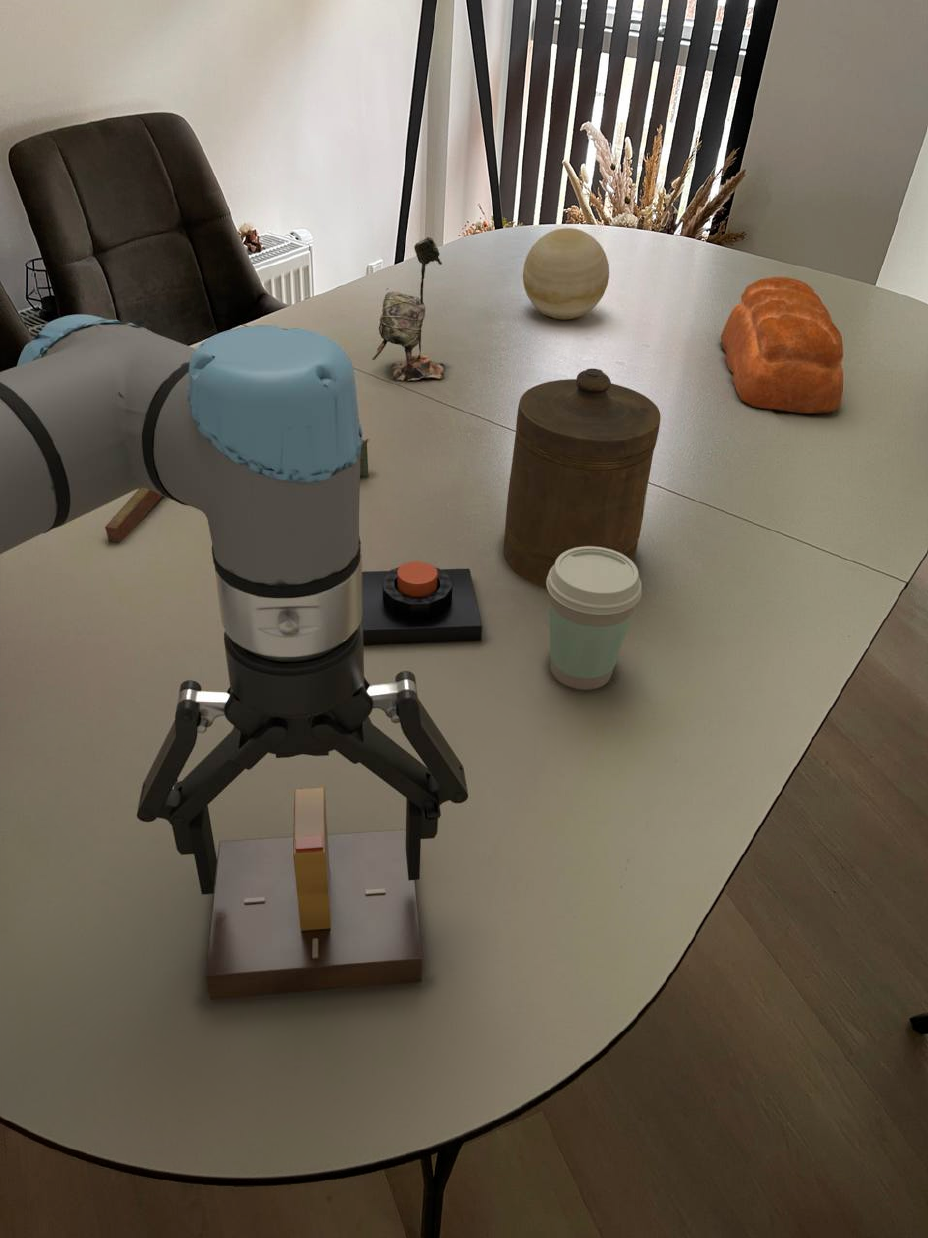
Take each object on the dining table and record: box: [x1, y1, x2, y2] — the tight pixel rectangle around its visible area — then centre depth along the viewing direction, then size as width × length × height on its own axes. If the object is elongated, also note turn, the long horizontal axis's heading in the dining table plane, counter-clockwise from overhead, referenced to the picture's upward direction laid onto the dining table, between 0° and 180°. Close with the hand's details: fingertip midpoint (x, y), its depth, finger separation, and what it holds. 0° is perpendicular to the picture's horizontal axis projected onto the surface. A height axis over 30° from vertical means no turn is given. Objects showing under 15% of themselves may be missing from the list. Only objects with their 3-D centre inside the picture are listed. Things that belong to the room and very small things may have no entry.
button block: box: [361, 566, 483, 646], centre depth 96 cm, size 12×10×4 cm
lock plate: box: [204, 828, 424, 1000], centre depth 67 cm, size 14×11×3 cm
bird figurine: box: [371, 236, 447, 381], centre depth 141 cm, size 8×11×20 cm
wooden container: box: [502, 368, 661, 589], centre depth 101 cm, size 15×15×22 cm
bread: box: [720, 276, 844, 414], centre depth 149 cm, size 16×31×13 cm, turn 174°
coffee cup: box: [546, 546, 643, 691], centre depth 88 cm, size 8×8×12 cm
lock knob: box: [293, 786, 331, 931], centre depth 63 cm, size 6×2×8 cm, turn 7°
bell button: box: [397, 560, 438, 597], centre depth 95 cm, size 4×4×2 cm
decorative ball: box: [522, 227, 610, 321], centre depth 165 cm, size 15×15×15 cm
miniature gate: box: [104, 438, 370, 544], centre depth 114 cm, size 27×6×30 cm
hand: (312, 871), depth 64 cm, fingers open, 13 cm apart
